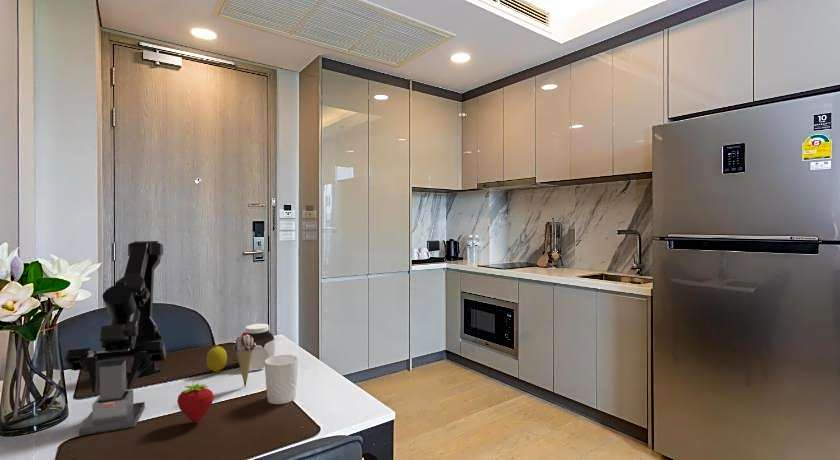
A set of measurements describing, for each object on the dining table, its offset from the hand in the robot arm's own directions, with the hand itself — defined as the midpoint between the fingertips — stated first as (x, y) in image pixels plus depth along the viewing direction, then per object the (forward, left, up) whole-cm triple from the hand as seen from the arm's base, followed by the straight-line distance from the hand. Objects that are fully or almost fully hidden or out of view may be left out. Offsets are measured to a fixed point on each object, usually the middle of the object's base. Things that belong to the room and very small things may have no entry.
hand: (111, 389), depth 95 cm
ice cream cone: (+6, +29, -8) cm, 30 cm away
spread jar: (-7, +42, -8) cm, 43 cm away
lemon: (-11, +31, -8) cm, 34 cm away
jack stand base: (-1, +1, -8) cm, 8 cm away
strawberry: (+15, +11, -8) cm, 20 cm away
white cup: (+20, +30, -8) cm, 37 cm away
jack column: (-1, +1, -6) cm, 6 cm away
